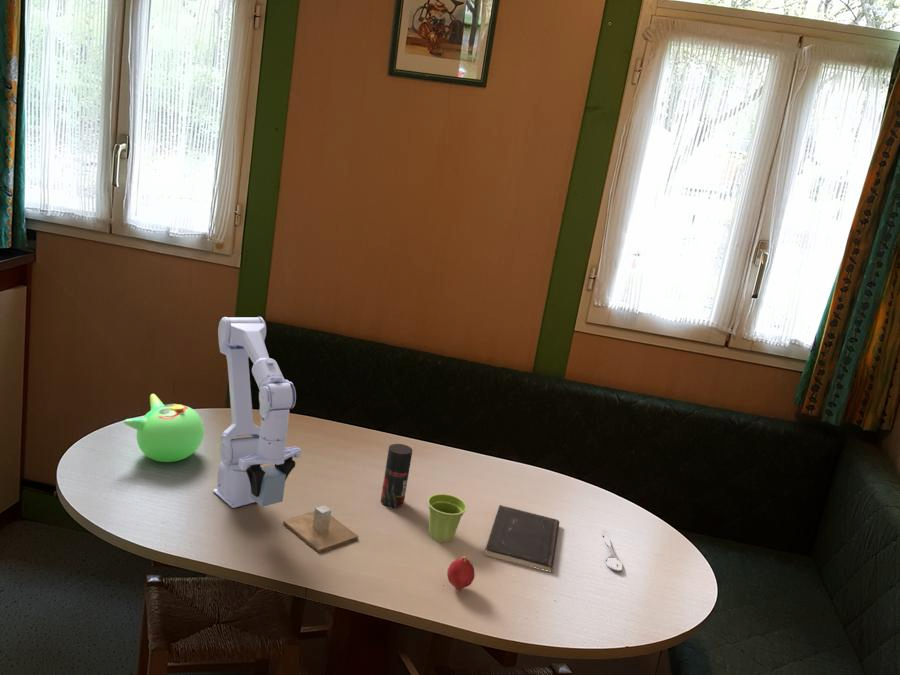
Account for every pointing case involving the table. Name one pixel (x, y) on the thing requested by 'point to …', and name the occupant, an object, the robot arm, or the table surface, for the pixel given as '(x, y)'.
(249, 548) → the table surface
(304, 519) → the wooden board
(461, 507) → the plant pot
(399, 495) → the deodorant
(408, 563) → the table surface
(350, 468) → the table surface
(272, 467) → the pale blue cuboid
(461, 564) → the onion
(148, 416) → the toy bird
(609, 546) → the spoon
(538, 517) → the hardcover book
